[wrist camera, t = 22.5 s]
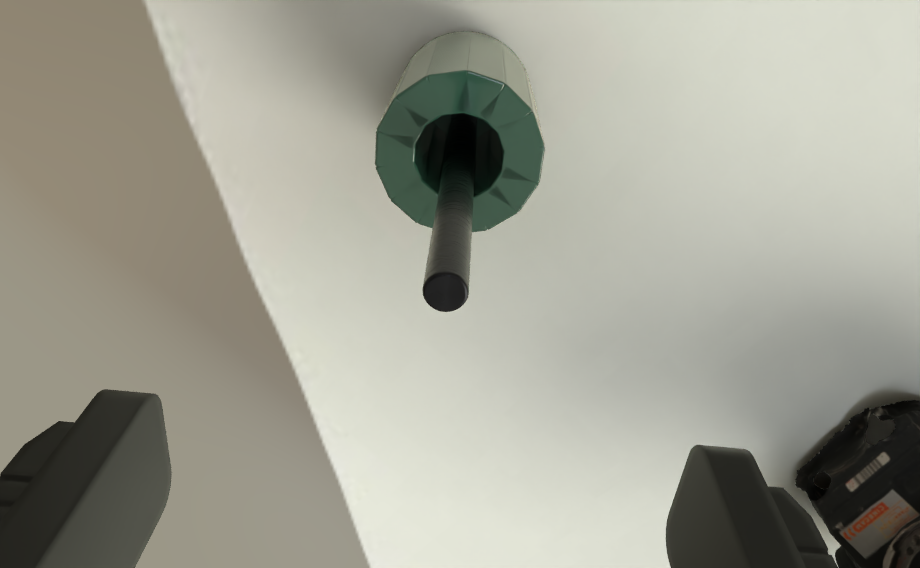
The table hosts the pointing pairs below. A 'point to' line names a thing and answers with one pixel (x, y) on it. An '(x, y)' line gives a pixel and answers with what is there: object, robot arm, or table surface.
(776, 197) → the table surface
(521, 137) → the holder
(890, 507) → the movie camera
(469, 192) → the stylus
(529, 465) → the table surface
